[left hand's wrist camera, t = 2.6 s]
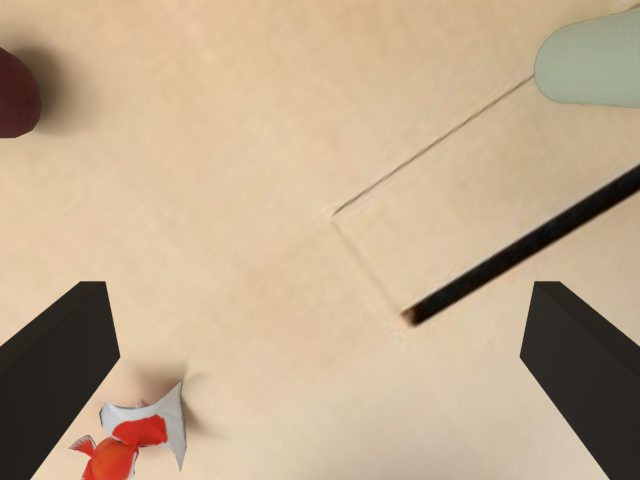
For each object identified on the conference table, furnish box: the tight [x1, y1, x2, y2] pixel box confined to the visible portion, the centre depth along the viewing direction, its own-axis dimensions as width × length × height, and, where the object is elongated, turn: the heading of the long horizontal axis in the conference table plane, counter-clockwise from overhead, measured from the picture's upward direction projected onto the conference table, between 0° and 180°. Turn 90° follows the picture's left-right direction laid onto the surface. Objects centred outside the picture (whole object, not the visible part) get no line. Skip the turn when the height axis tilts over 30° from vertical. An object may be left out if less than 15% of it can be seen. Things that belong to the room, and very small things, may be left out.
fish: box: [68, 380, 186, 480], centre depth 46 cm, size 11×16×10 cm
